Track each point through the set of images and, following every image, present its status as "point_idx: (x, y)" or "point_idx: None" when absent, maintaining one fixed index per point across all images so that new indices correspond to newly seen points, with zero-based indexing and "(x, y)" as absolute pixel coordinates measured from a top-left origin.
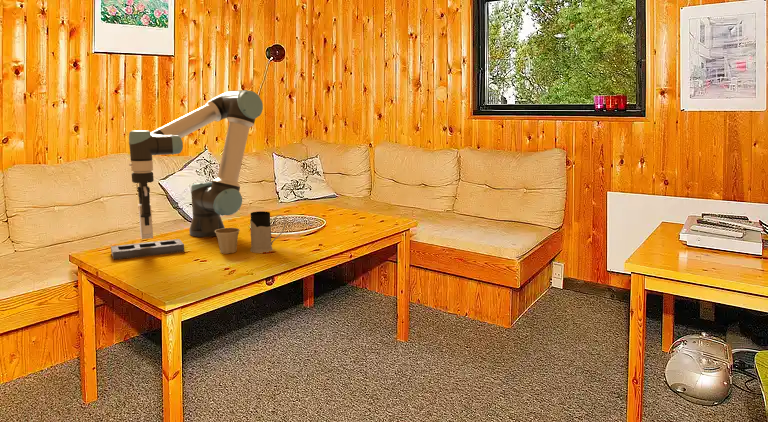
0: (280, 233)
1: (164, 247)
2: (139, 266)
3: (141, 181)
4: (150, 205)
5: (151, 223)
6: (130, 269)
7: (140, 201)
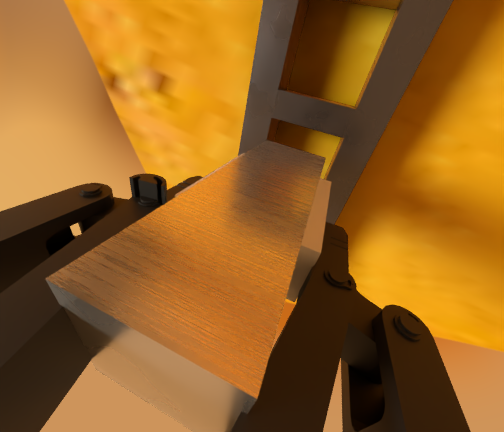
0: None
1: (395, 107)
2: (473, 268)
3: None
4: (257, 380)
5: (313, 198)
6: (476, 299)
7: (56, 407)
